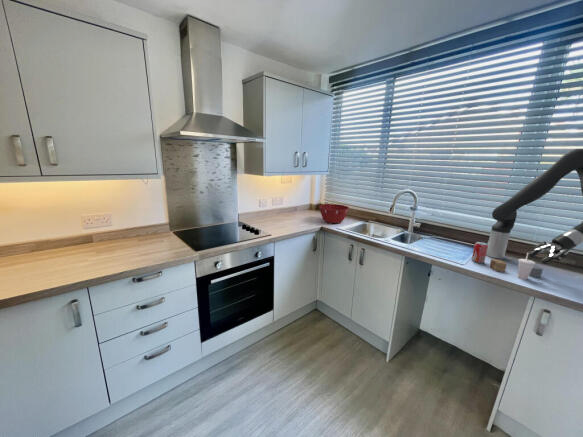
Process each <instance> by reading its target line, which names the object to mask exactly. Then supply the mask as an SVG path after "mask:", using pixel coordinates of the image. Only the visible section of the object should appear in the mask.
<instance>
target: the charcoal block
mask: <svg viewBox="0 0 583 437" xmlns="http://www.w3.org/2000/svg"><path fill="white" fill-rule="evenodd" d="M543 270H544V268H542V267H540V266H538V265H537V264H535V265H534V266H533V268H532V270H531V272H530V274H529V276H528V277H532V278H533V277H534V278H541V277H542V273H543Z"/></svg>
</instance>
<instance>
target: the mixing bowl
mask: <svg viewBox="0 0 583 437" xmlns="http://www.w3.org/2000/svg"><path fill="white" fill-rule="evenodd" d="M318 206H319V211H320V215H321V217H322V219H323V221H324V222H326V223H327V222H328V223H327V224H331V223H338V224H340V223H342V222H343V221H344V220H345V218H346V217H347V214H348V212H349V209H350V207H349V206H347V205H343V204H335V203H328V204H327V203H325V204H321V205H318Z"/></svg>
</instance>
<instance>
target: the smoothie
mask: <svg viewBox="0 0 583 437" xmlns="http://www.w3.org/2000/svg"><path fill="white" fill-rule="evenodd" d="M529 253H530V252H527V253H526V257H525V258H519V259H518V269H517V270H518V271H517V278H519V279H521V280H528V278H529V277H530V276H529V274H530V272H531V270H532V268H533V266H534V265H536V262H535V261H533V260H532V259H531V260H530V259H528V258H529V255H528V254H529Z"/></svg>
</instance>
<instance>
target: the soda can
mask: <svg viewBox="0 0 583 437" xmlns="http://www.w3.org/2000/svg"><path fill="white" fill-rule="evenodd" d="M487 244H488V243H487V242H483V241H476V242H475V243H474V248H473V252H472V256H471V260H472V261H473V262H474V263H477V264H483V263H485V262H486V256H487V255H486V252H487V248H488V246H487Z"/></svg>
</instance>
